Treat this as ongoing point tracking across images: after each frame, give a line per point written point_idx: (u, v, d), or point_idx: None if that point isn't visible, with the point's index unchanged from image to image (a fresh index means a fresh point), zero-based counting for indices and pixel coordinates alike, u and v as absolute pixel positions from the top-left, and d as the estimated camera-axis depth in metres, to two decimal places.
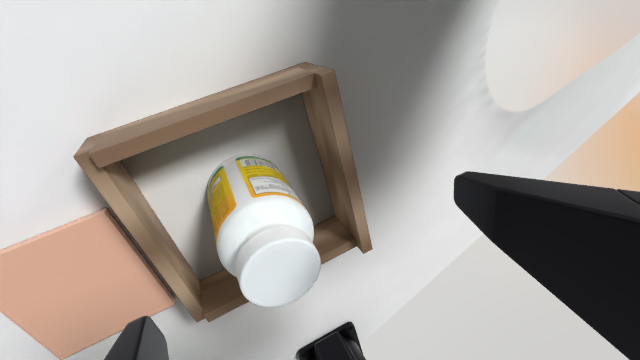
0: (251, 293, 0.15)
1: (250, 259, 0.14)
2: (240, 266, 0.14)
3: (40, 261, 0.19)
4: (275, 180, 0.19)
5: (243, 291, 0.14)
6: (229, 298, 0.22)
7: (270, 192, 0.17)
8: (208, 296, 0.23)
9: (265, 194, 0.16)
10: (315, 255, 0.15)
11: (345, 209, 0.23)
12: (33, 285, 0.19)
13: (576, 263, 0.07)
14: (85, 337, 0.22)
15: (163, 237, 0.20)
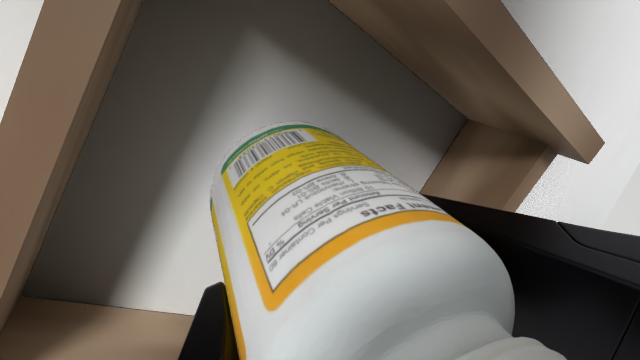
0: None
1: None
2: None
3: None
4: (309, 181, 0.06)
5: None
6: None
7: (308, 260, 0.05)
8: None
9: (295, 278, 0.05)
10: None
11: (499, 105, 0.10)
12: None
13: (517, 298, 0.07)
14: None
15: None
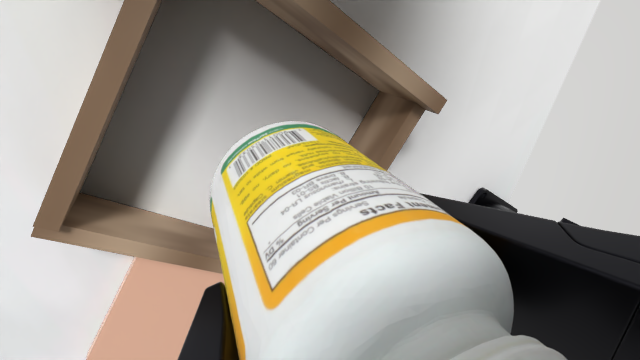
0: None
1: None
2: None
3: (134, 318, 0.19)
4: (309, 180, 0.06)
5: None
6: None
7: (308, 258, 0.05)
8: None
9: (295, 277, 0.05)
10: None
11: (377, 76, 0.16)
12: (150, 335, 0.20)
13: (517, 298, 0.07)
14: None
15: (208, 240, 0.17)
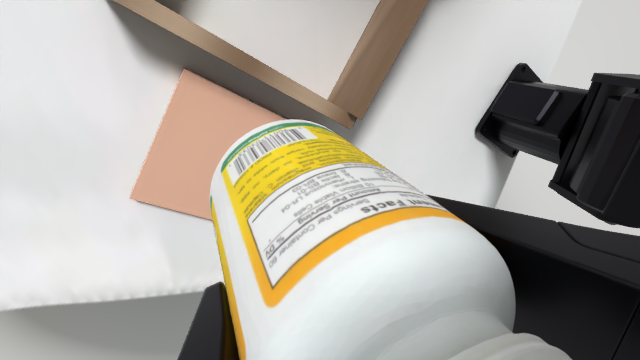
0: None
1: None
2: None
3: (177, 153, 0.18)
4: (310, 178, 0.06)
5: None
6: (365, 82, 0.18)
7: (308, 256, 0.05)
8: (343, 100, 0.19)
9: (295, 275, 0.05)
10: None
11: None
12: (192, 178, 0.19)
13: (517, 298, 0.07)
14: None
15: None
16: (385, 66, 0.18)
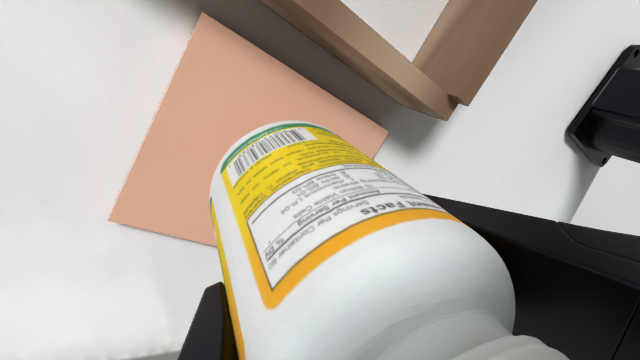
0: None
1: None
2: None
3: (186, 150, 0.12)
4: (309, 180, 0.06)
5: None
6: (480, 48, 0.12)
7: (308, 258, 0.05)
8: (436, 78, 0.13)
9: (295, 277, 0.05)
10: None
11: None
12: (207, 190, 0.12)
13: (517, 299, 0.07)
14: None
15: None
16: (514, 23, 0.11)
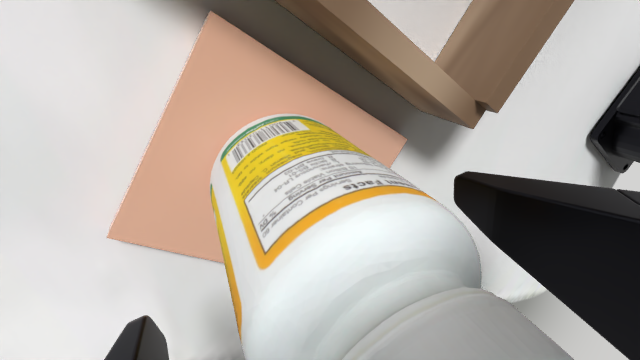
0: None
1: None
2: None
3: (192, 161, 0.11)
4: (300, 162, 0.07)
5: None
6: (512, 50, 0.11)
7: (297, 225, 0.06)
8: (461, 82, 0.12)
9: (285, 241, 0.05)
10: None
11: None
12: None
13: (576, 263, 0.07)
14: None
15: None
16: (550, 23, 0.10)
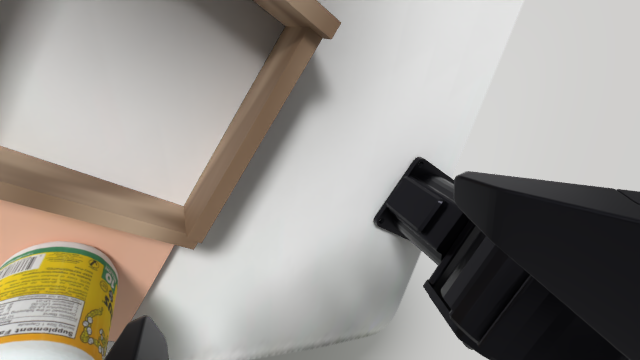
0: None
1: None
2: None
3: None
4: None
5: None
6: (203, 205, 0.16)
7: None
8: (189, 216, 0.17)
9: None
10: None
11: None
12: None
13: (576, 263, 0.07)
14: (118, 314, 0.20)
15: (65, 181, 0.15)
16: (224, 191, 0.16)
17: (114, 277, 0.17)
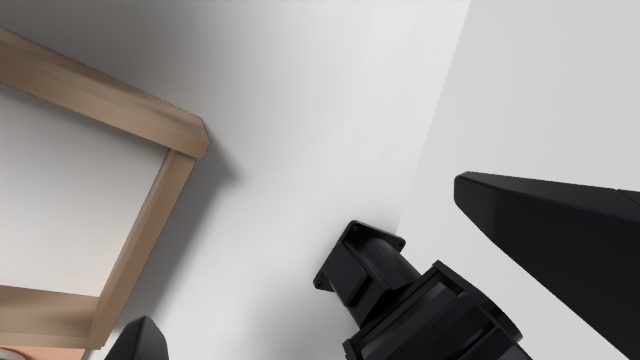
0: None
1: None
2: None
3: None
4: None
5: None
6: (101, 312, 0.16)
7: None
8: (95, 316, 0.18)
9: None
10: None
11: None
12: None
13: (576, 263, 0.07)
14: None
15: None
16: (119, 299, 0.16)
17: None
